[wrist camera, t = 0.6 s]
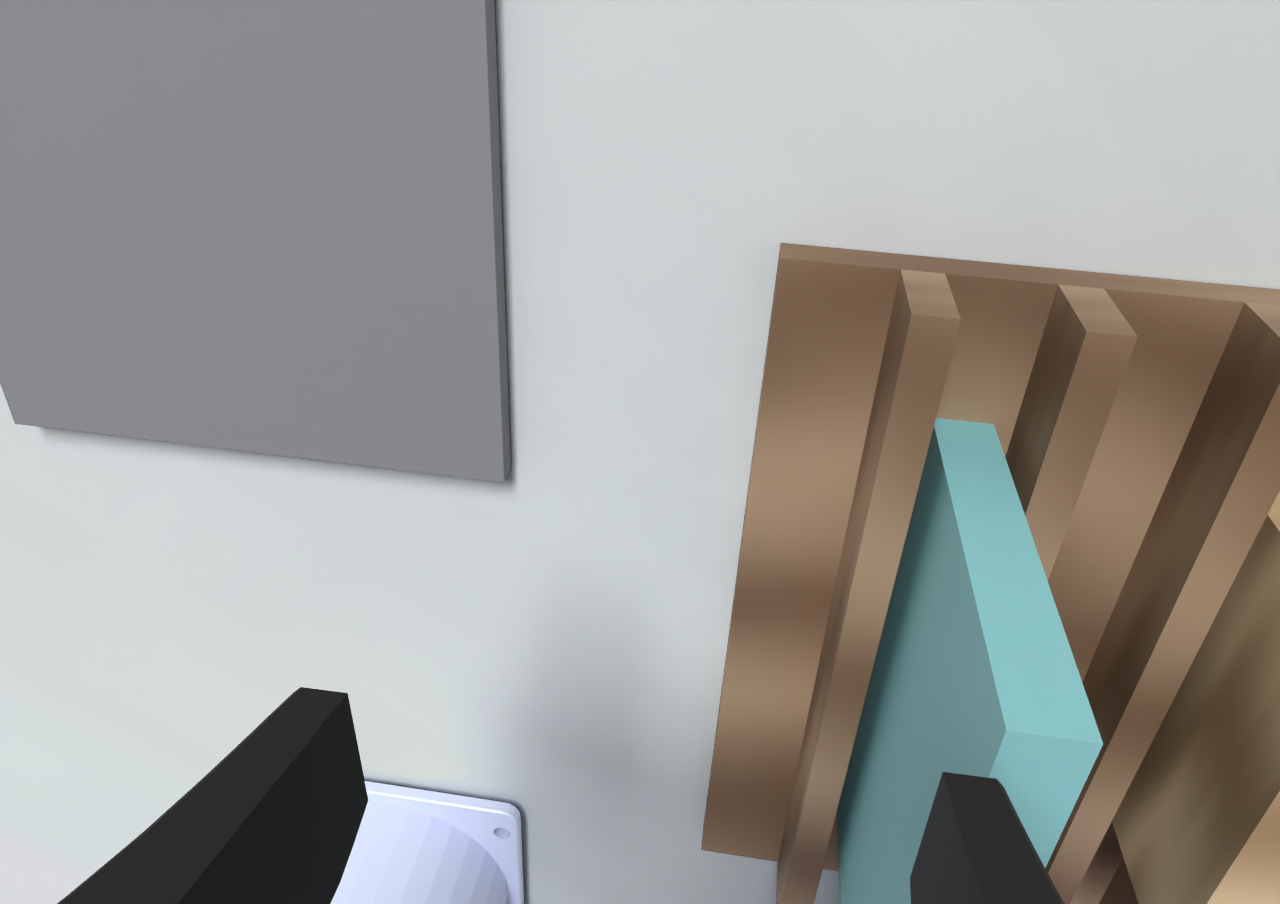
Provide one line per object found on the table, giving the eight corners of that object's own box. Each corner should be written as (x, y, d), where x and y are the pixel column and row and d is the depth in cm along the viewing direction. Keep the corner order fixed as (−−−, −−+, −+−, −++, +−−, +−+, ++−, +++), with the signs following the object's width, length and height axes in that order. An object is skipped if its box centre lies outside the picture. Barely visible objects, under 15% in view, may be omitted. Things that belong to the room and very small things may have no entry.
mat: (510, 468, 22) (504, 482, 21) (32, 411, 23) (15, 423, 22) (478, -478, 13) (465, -491, 13) (-289, -495, 14) (-328, -508, 14)
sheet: (881, 807, 25) (911, 1153, 18) (836, 801, 25) (849, 1142, 19) (994, 424, 19) (1102, 743, 12) (932, 417, 19) (1006, 729, 12)
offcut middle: (1146, 780, 23) (1223, 984, 19) (1096, 773, 23) (1160, 974, 19) (1302, 480, 18) (1452, 665, 14) (1238, 473, 18) (1366, 655, 14)
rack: (1234, 907, 26) (1276, 1009, 24) (703, 826, 28) (694, 914, 25) (1629, 322, 17) (1764, 398, 14) (780, 243, 18) (778, 300, 16)
